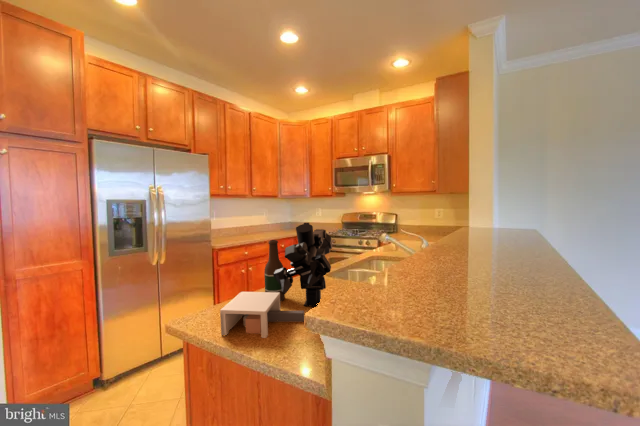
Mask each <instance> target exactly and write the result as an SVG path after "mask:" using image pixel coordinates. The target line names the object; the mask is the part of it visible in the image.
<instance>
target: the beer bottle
mask: <svg viewBox="0 0 640 426" xmlns="http://www.w3.org/2000/svg"><path fill="white" fill-rule="evenodd" d="M278 243H279V241H278V240H277V239H271V240H268V245H269V248H268V261H267V263H266V264H265V266H264V292H280V303H281V302H283V301H284V300H285V295H286V294H285V295H283V293H282V288H281V285H280V284H279V283H278V281H277V280H276V279H275V277H274V276H273V275H274V272H275V270H278V269H281V268H283V267H284V265H283V263H282V262H281V260H280V257H279V248H278Z"/></svg>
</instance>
